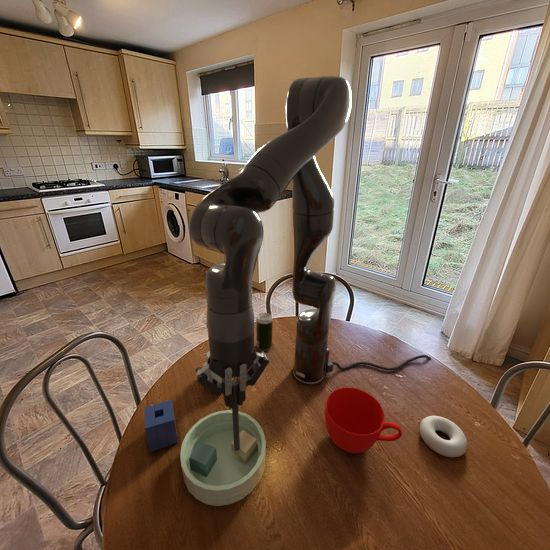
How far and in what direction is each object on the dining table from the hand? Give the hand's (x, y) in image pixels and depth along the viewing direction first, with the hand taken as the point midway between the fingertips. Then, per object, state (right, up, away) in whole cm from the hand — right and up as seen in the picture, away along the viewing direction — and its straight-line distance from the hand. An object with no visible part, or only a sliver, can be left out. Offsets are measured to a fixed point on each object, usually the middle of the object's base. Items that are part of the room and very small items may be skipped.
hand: (235, 403), depth 55 cm
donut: (+47, -16, +15) cm, 52 cm away
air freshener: (-9, -7, +31) cm, 33 cm away
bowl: (-3, -17, +9) cm, 19 cm away
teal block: (-8, -17, +8) cm, 20 cm away
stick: (0, -12, +6) cm, 13 cm away
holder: (-19, -14, +14) cm, 27 cm away
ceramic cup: (+27, -15, +14) cm, 34 cm away
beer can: (+4, -1, +45) cm, 46 cm away
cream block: (+1, -16, +10) cm, 19 cm away
